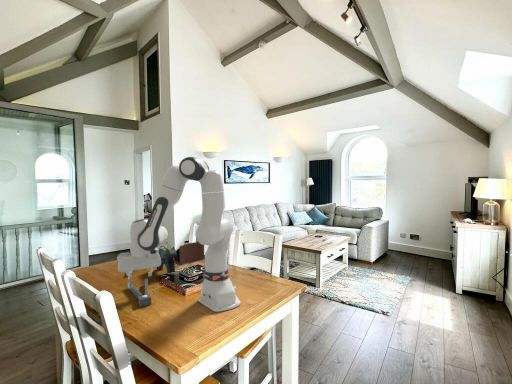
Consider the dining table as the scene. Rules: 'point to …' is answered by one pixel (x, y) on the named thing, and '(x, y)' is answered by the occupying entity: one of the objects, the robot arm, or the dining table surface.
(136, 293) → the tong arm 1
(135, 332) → the dining table surface
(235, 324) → the dining table surface
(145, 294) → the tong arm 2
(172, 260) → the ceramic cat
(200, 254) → the letter holder
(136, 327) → the dining table surface
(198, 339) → the dining table surface
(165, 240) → the robot arm
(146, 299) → the tong hinge block
